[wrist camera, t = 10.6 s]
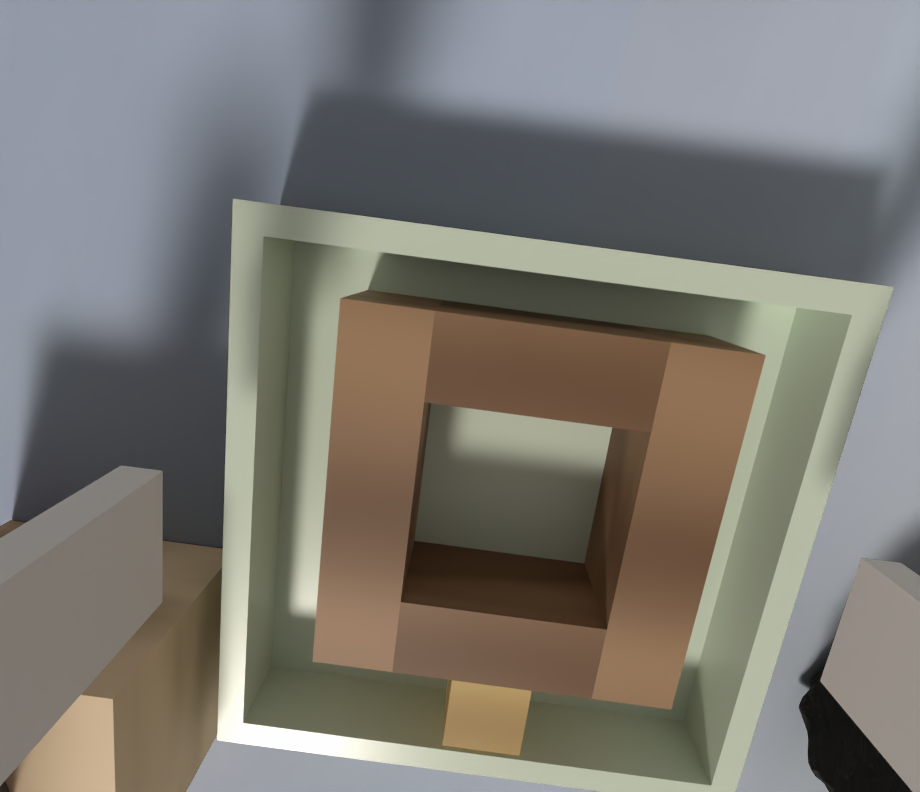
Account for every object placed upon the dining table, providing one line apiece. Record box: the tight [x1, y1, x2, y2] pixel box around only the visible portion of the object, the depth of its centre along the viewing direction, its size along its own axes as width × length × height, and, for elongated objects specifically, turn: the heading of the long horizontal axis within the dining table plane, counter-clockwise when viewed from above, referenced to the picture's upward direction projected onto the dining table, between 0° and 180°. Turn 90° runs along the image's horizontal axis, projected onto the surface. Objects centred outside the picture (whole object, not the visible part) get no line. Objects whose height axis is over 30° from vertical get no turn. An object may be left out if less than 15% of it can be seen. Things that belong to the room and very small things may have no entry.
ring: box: [313, 290, 766, 756], centre depth 15 cm, size 11×9×3 cm
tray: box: [217, 199, 894, 792], centre depth 15 cm, size 14×14×3 cm
